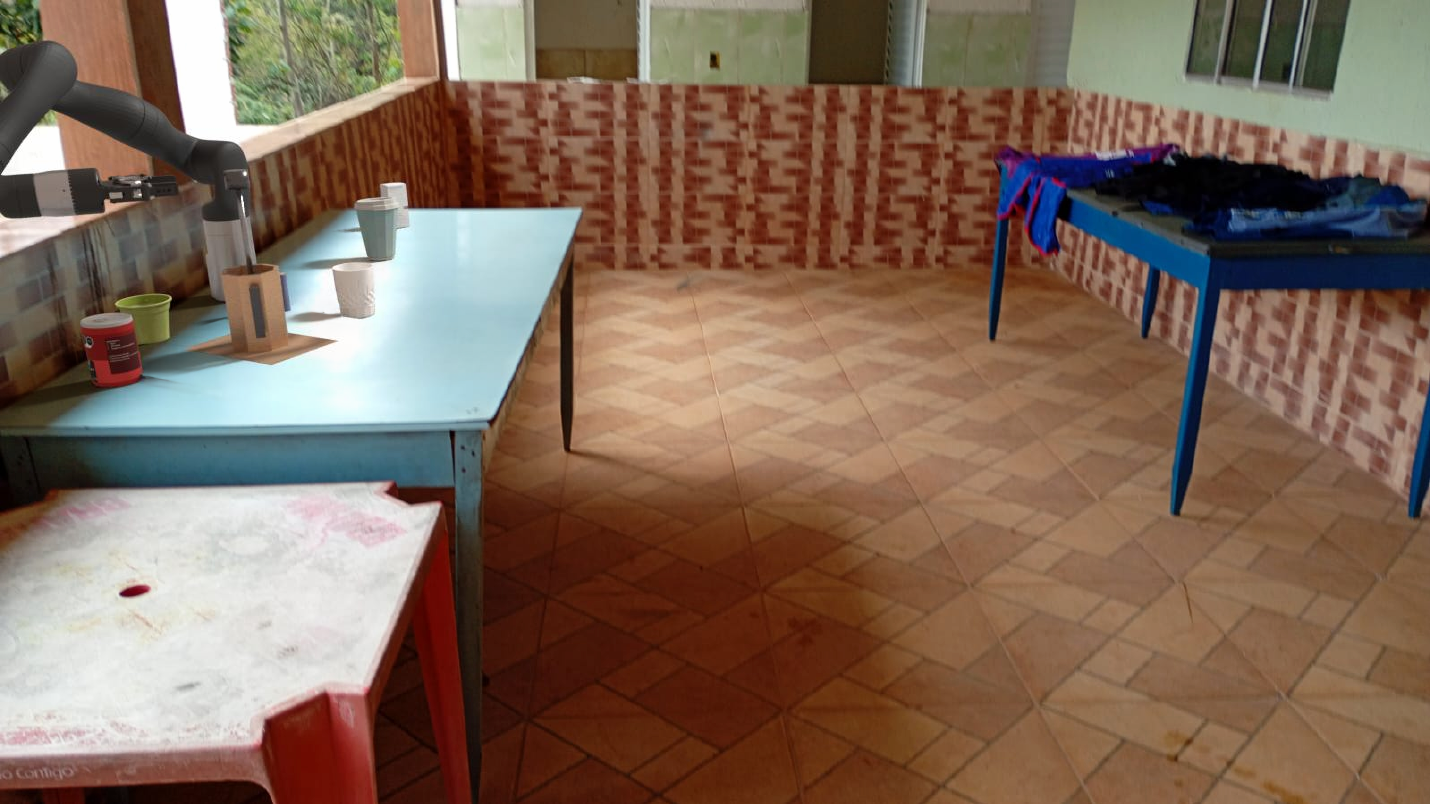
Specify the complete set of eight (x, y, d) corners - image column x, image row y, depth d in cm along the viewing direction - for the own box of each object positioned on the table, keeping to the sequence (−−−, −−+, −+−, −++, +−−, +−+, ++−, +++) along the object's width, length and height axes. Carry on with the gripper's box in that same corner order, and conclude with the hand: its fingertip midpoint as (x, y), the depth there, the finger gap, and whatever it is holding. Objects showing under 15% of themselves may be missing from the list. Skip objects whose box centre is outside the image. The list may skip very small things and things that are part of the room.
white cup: (366, 320, 228) (361, 271, 224) (330, 318, 229) (324, 270, 226) (385, 310, 235) (379, 263, 232) (350, 308, 237) (344, 261, 233)
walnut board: (183, 355, 206) (182, 348, 206) (253, 332, 220) (252, 326, 219) (272, 371, 197) (271, 364, 197) (339, 346, 211) (338, 340, 210)
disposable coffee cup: (350, 261, 279) (343, 199, 274) (378, 252, 288) (372, 192, 283) (386, 264, 275) (379, 202, 270) (413, 255, 285) (407, 195, 279)
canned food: (103, 374, 196) (91, 313, 193) (151, 373, 197) (139, 311, 193) (83, 389, 189) (70, 325, 185) (133, 387, 190) (121, 323, 186)
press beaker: (219, 349, 206) (207, 273, 201) (262, 335, 214) (251, 262, 209) (263, 356, 201) (251, 279, 196) (305, 342, 210) (295, 267, 205)
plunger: (227, 300, 204) (207, 172, 196) (255, 292, 209) (237, 167, 201) (253, 304, 201) (234, 174, 193) (281, 296, 207) (263, 169, 199)
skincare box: (391, 229, 316) (386, 185, 312) (383, 227, 319) (378, 184, 315) (411, 226, 320) (406, 183, 316) (402, 224, 323) (398, 181, 319)
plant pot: (143, 355, 207) (134, 309, 204) (113, 347, 211) (104, 302, 208) (189, 342, 214) (182, 297, 211) (159, 335, 219) (151, 291, 216)
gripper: (63, 175, 180) (175, 168, 187) (66, 164, 192) (171, 157, 199) (73, 222, 183) (183, 213, 189) (75, 208, 194) (178, 200, 201)
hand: (177, 184), depth 194 cm, fingers open, 8 cm apart
